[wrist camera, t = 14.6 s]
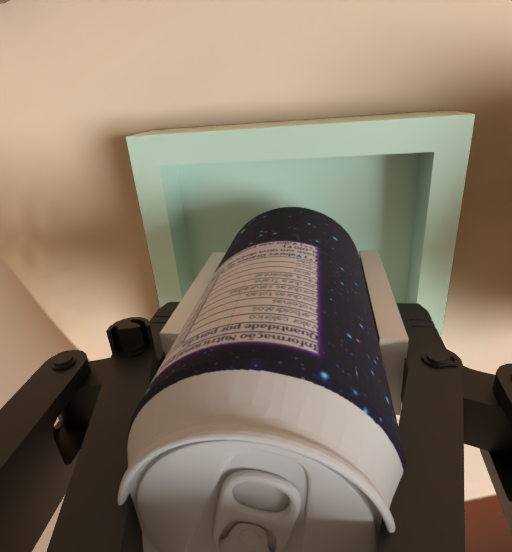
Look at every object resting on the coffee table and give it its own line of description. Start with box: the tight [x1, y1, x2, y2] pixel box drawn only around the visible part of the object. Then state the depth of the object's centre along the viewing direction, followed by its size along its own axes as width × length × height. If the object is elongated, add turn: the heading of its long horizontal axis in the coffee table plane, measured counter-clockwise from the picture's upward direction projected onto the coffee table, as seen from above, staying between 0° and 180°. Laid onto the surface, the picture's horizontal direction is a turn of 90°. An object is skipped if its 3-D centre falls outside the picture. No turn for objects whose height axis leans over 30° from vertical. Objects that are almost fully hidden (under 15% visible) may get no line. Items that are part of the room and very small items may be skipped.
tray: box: [126, 110, 475, 337], centre depth 19 cm, size 13×13×3 cm
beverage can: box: [118, 207, 406, 552], centre depth 12 cm, size 6×6×12 cm
